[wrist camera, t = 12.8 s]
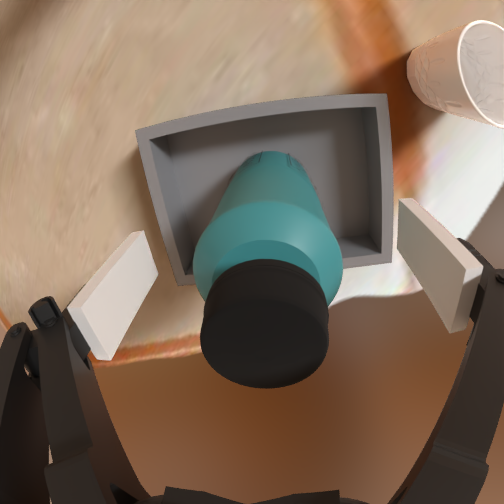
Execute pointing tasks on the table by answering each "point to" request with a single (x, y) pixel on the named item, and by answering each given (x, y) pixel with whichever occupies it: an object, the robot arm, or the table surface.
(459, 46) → the white cup
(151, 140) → the trough tray
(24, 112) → the table surface
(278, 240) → the beverage bottle
